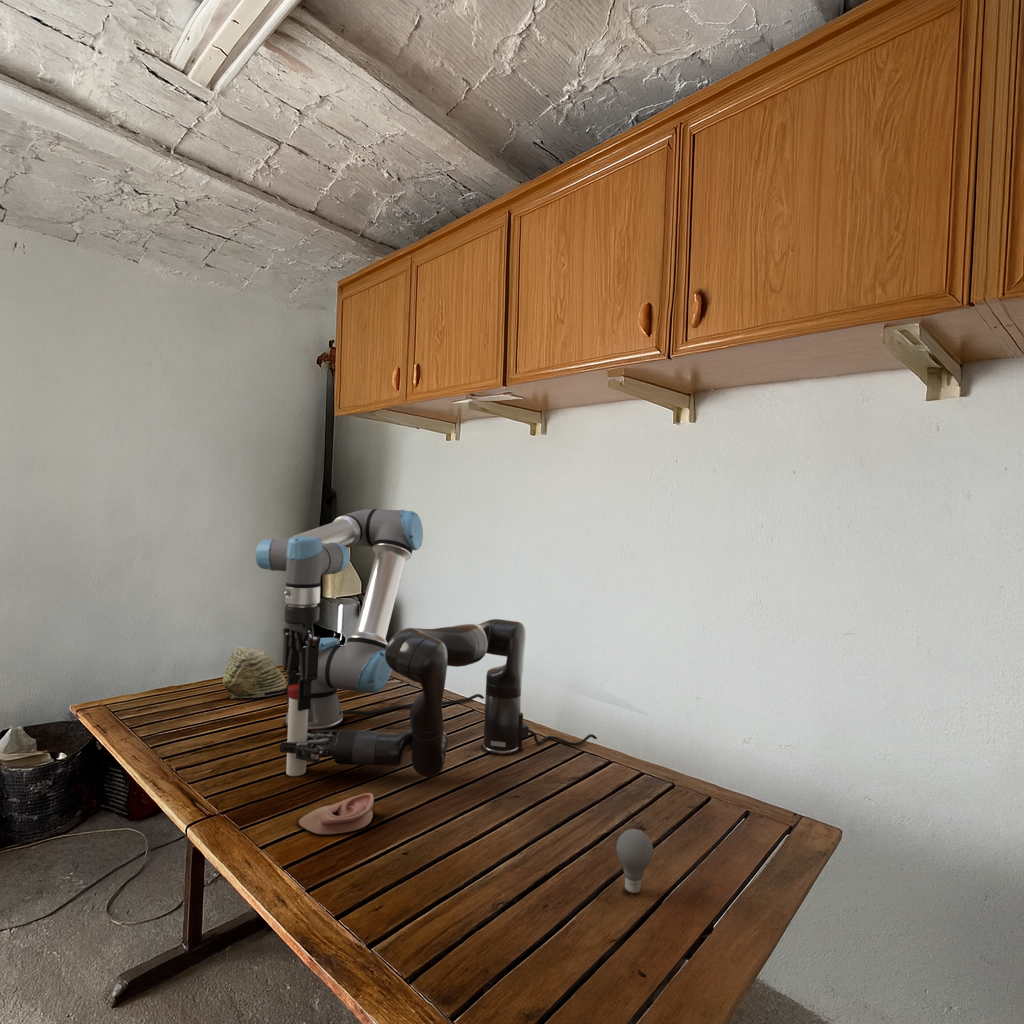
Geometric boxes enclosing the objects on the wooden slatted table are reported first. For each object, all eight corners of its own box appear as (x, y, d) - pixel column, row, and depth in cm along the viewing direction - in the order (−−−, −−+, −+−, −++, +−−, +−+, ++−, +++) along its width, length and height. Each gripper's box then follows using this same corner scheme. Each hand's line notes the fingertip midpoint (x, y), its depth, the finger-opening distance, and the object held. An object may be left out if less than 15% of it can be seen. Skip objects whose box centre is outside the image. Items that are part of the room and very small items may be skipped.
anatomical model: (290, 809, 120) (320, 783, 131) (289, 830, 120) (320, 802, 131) (355, 819, 117) (381, 791, 128) (355, 840, 117) (380, 811, 128)
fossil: (218, 695, 195) (220, 647, 195) (278, 685, 208) (279, 640, 207) (228, 703, 189) (230, 653, 188) (289, 692, 201) (290, 645, 201)
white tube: (304, 767, 148) (307, 684, 147) (306, 774, 144) (310, 690, 144) (285, 769, 146) (288, 686, 146) (287, 777, 142) (290, 691, 142)
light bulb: (610, 879, 108) (613, 822, 108) (644, 879, 109) (647, 822, 109) (619, 902, 102) (622, 840, 102) (655, 901, 103) (658, 840, 103)
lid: (298, 691, 148) (298, 681, 148) (314, 694, 146) (314, 685, 146) (283, 696, 143) (283, 687, 143) (299, 700, 141) (299, 690, 141)
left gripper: (269, 600, 148) (265, 699, 148) (305, 612, 135) (301, 720, 136) (299, 598, 153) (296, 693, 154) (336, 609, 141) (332, 713, 141)
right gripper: (368, 720, 151) (297, 716, 152) (350, 743, 137) (272, 738, 138) (366, 751, 151) (296, 747, 152) (348, 777, 137) (271, 772, 138)
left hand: (298, 706), depth 145 cm, fingers closed on lid, 5 cm apart
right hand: (285, 742), depth 145 cm, fingers closed on white tube, 4 cm apart
